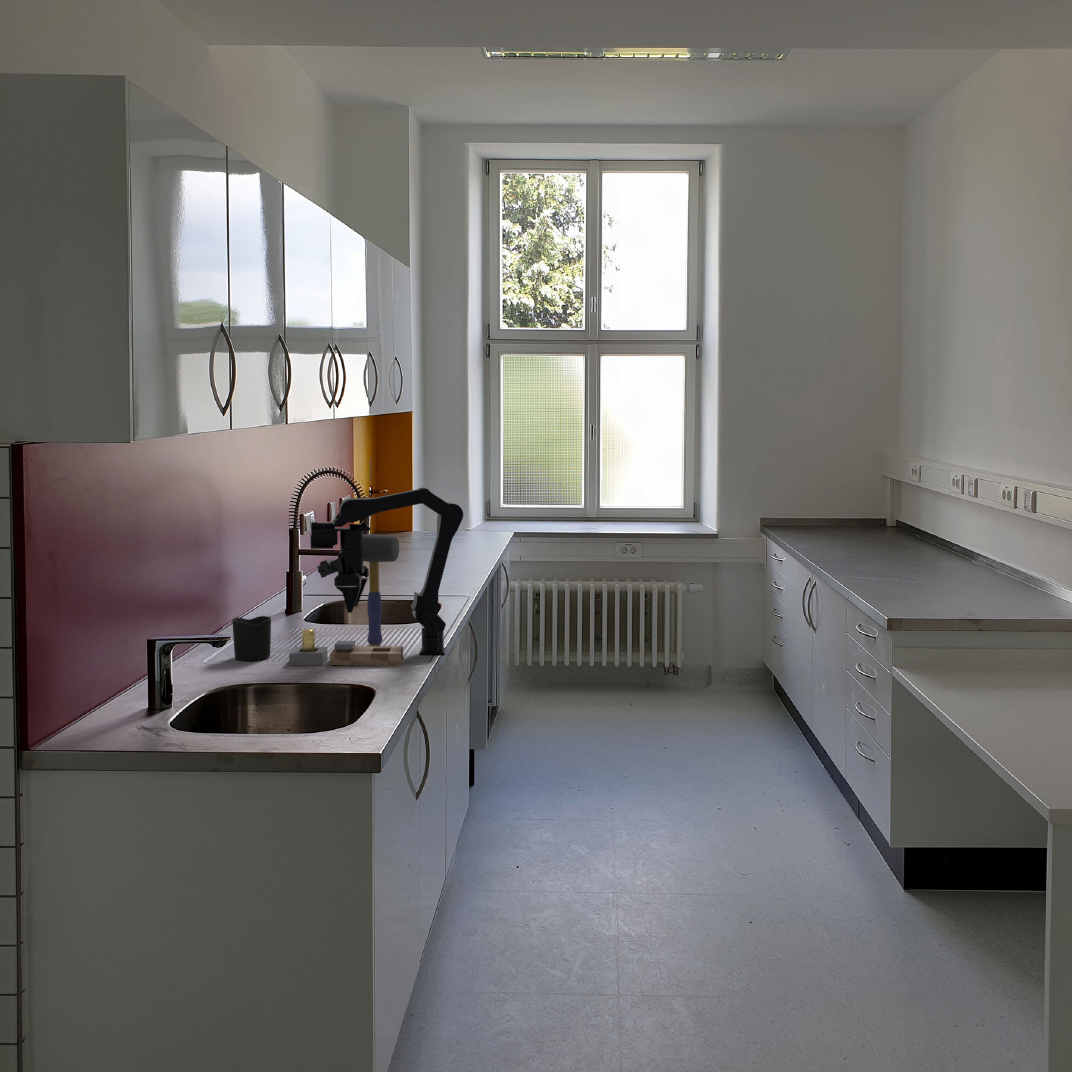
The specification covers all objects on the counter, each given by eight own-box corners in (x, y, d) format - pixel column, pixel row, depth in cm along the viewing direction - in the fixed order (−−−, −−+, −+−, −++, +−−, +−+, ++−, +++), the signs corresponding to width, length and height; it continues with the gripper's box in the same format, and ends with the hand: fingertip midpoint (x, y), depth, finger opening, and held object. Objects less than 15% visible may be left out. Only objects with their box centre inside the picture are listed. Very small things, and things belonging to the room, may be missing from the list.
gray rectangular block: (337, 659, 266) (337, 640, 266) (355, 658, 266) (355, 640, 266) (334, 662, 262) (334, 644, 261) (352, 662, 262) (352, 644, 261)
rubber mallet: (347, 647, 282) (346, 534, 279) (358, 641, 289) (356, 532, 286) (392, 649, 279) (391, 536, 276) (401, 643, 286) (400, 533, 283)
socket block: (335, 658, 268) (335, 646, 268) (403, 657, 269) (403, 646, 269) (330, 665, 259) (329, 653, 259) (399, 665, 260) (399, 653, 260)
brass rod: (304, 660, 265) (303, 629, 264) (316, 660, 265) (315, 629, 265) (301, 663, 262) (301, 631, 261) (313, 663, 262) (313, 631, 262)
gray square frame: (295, 658, 268) (295, 646, 267) (327, 658, 268) (327, 646, 268) (289, 665, 260) (289, 653, 259) (322, 665, 260) (322, 653, 260)
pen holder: (246, 653, 274) (246, 614, 273) (278, 655, 271) (278, 616, 270) (225, 660, 265) (224, 620, 264) (258, 663, 262) (257, 623, 261)
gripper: (325, 544, 277) (326, 603, 279) (313, 552, 259) (314, 615, 260) (368, 544, 278) (369, 603, 279) (358, 552, 259) (359, 615, 261)
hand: (352, 609), depth 270 cm, fingers open, 9 cm apart
